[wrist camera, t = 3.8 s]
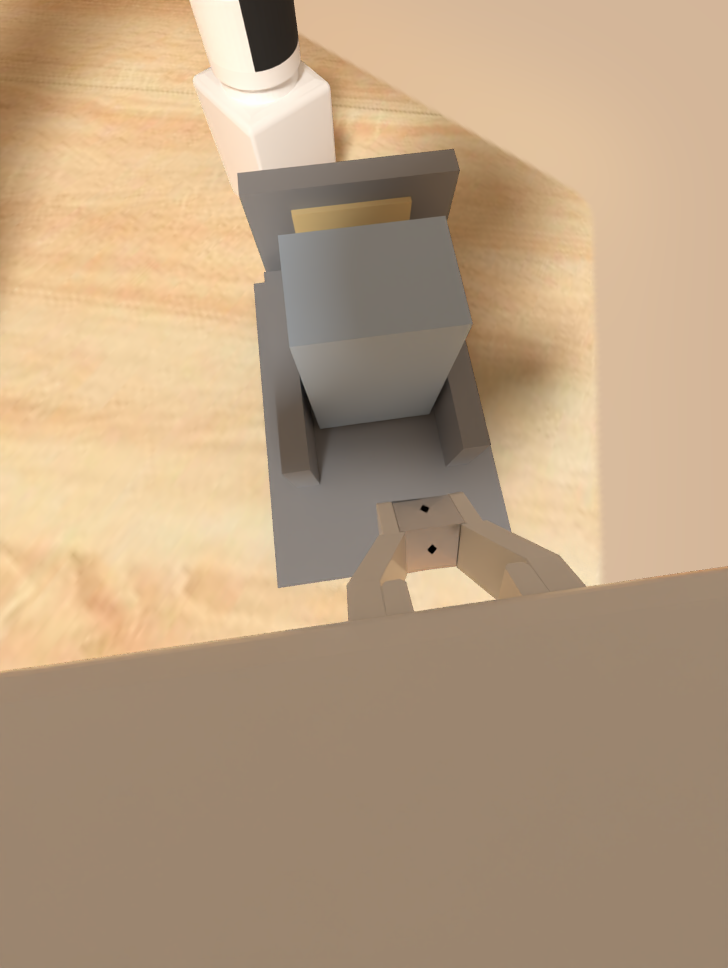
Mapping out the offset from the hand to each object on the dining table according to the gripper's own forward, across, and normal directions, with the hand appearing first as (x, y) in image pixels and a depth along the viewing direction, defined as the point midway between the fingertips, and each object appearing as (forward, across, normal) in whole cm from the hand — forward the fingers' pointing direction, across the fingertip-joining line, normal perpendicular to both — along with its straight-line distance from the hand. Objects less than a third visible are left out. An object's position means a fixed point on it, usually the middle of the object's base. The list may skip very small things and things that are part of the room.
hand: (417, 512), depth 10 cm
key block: (+15, 0, -1) cm, 15 cm away
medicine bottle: (+30, +5, -14) cm, 34 cm away
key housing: (+14, 0, +1) cm, 15 cm away
